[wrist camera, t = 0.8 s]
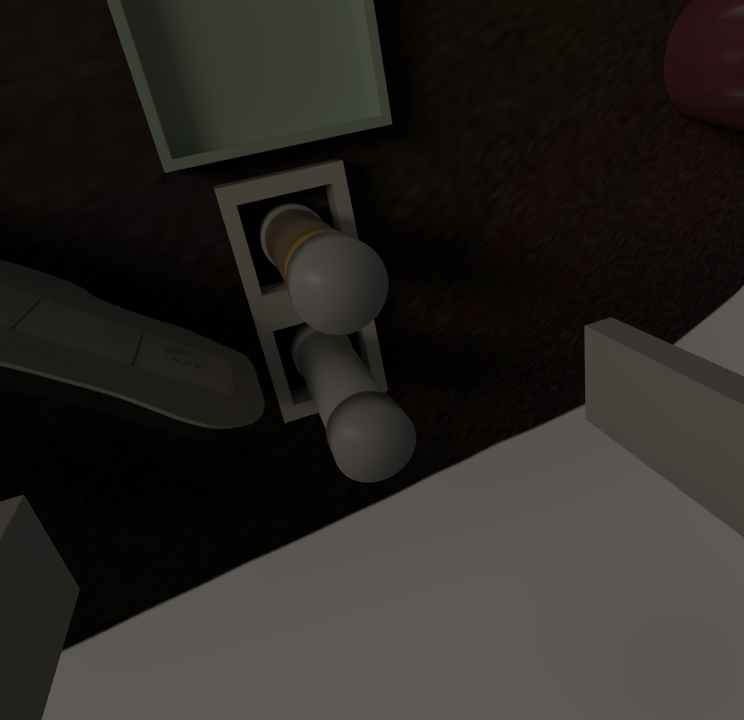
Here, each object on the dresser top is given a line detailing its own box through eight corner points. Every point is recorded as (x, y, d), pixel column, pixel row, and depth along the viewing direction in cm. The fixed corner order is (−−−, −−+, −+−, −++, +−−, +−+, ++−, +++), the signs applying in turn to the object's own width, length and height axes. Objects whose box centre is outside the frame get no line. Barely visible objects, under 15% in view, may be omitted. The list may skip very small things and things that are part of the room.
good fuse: (297, 379, 41) (344, 493, 28) (283, 327, 39) (325, 423, 26) (351, 363, 42) (421, 466, 29) (339, 311, 40) (409, 396, 27)
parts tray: (167, 170, 33) (164, 172, 30) (73, -113, 27) (59, -142, 25) (377, 125, 36) (392, 124, 33) (333, -142, 30) (346, -171, 27)
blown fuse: (268, 273, 37) (305, 346, 24) (250, 210, 36) (280, 252, 22) (327, 257, 38) (395, 320, 25) (314, 195, 36) (379, 227, 23)
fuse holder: (280, 408, 42) (284, 423, 39) (213, 186, 34) (214, 189, 32) (378, 378, 43) (387, 390, 41) (334, 159, 36) (342, 160, 34)
